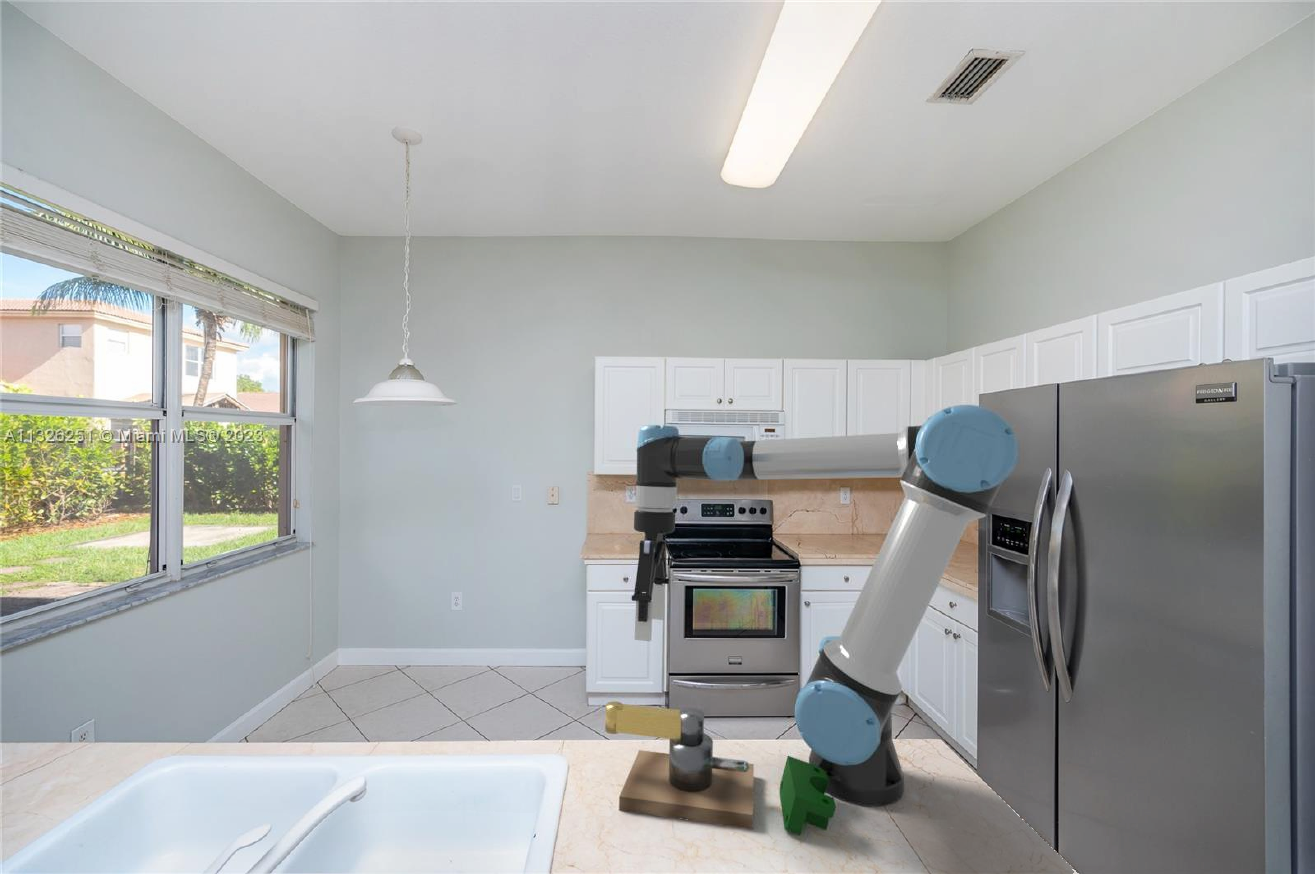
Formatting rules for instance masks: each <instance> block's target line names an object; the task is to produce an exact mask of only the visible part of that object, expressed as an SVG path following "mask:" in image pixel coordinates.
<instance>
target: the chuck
mask: <svg viewBox="0 0 1315 874" xmlns="http://www.w3.org/2000/svg"><path fill="white" fill-rule="evenodd" d="M668 744H669V745H668V746H669V749H668V751H669V753H668V754H669V782H670V783H671V785H672V786H674V787H675V788H677V789H679V790H682V791H686V792H699V791H703V790H706V789H707V788H709V787H710V786H711V784H712V768H713V769H721V770H729V771H737V772H747V771H748V770H749V764H750V763H749V764H748V761H746V760H743V759H735V758H725V757H719V756H714V755H713V753H714V752H713V747H714V741H713V739H712V737H711V736H709V735H708V734H707V733H704V740H703V742H702V743H700V744H697V745H688V744H684V743H682V742H681V741H680V740H677V739H669V743H668Z"/></svg>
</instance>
